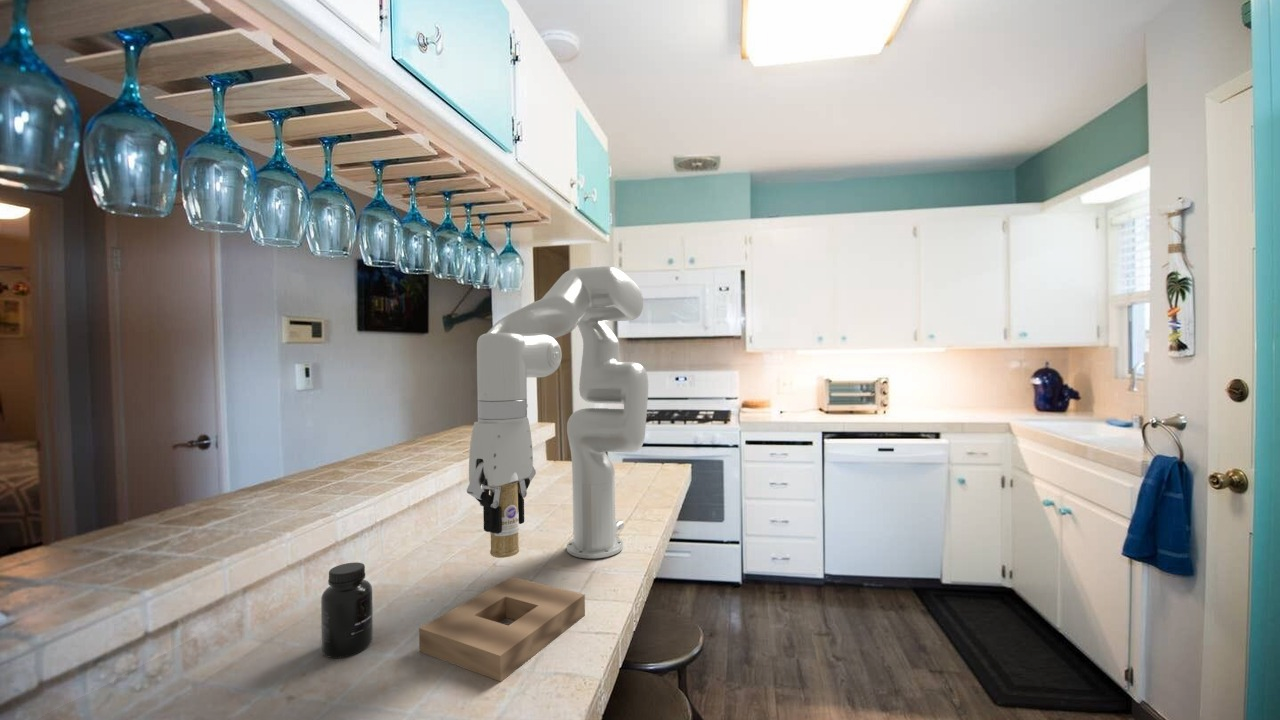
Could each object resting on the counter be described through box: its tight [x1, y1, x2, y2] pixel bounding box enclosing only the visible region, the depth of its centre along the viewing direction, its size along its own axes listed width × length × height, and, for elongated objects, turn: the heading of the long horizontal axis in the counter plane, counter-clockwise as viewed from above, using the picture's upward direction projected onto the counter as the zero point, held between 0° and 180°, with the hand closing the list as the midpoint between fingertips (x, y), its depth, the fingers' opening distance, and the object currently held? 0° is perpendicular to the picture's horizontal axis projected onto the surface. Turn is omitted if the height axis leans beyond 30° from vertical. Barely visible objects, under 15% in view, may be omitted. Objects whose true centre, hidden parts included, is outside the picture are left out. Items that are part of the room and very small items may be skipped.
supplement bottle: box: [320, 562, 374, 659], centre depth 80 cm, size 7×7×12 cm
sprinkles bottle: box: [489, 473, 520, 559], centre depth 83 cm, size 5×5×14 cm
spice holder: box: [418, 576, 586, 682], centre depth 83 cm, size 20×16×4 cm
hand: (504, 525), depth 83 cm, fingers closed on sprinkles bottle, 4 cm apart
